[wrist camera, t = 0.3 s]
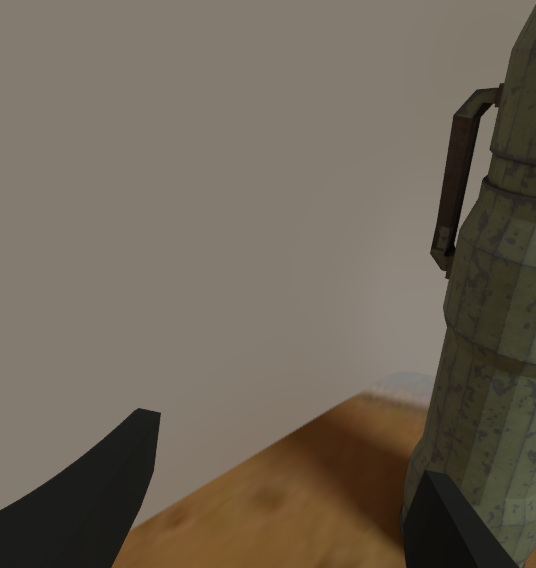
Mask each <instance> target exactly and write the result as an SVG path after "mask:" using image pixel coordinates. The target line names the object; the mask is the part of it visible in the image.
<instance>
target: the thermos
mask: <svg viewBox="0 0 536 568" xmlns="http://www.w3.org/2000/svg"><path fill="white" fill-rule="evenodd" d="M492 104H495V107H499V109H498V114H497V118H496V123H495V127H494V132H493V137H492V141H491V145H490V151H491V152H492V153H493V154H492V159H491V163H490V168H489V172H488V175H487V176H486V177H484V178H483V180H482V185H481V189H480V194H479V198H478V200H477V201H476V203H475V205H474V206H473V208H472V210H471V212H470V213H469V215H468V216H467V218H466V220H465V221H464V223H463V225H462V226H461V228H460V231H459V235H458V240H457V244H456V248H455V246H454V242H455V238H456V233H457V228H458V224H459V219H460V214H461V209H462V205H463V200H464V195H465V190H466V185H467V181H468V176H469V171H470V166H471V161H472V156H473V152H474V147H475V142H476V137H477V133H478V128H479V123H480V118H481V116H482V115H483V114H484V113H485V112H486V111H487V110H488V109H489V108H490V107H491V105H492ZM430 254H431V255H432V257H433V258H434V260H435V261H436V263H437V264H438V266H439V267H440V269H441V270H443V271H447V272H446V277H445V278H446V279H449V282H448V287H447V291H446V296H445V301H444V305H443V309H444V316H445V321H446V324H447V330H446V334H445V339H444V344H443V348H442V352H441V357H440V361H439V366H438V370H437V375H436V379H435V384H434V388H433V393H432V397H431V402H430V406H429V411H428V415H427V420H426V424H425V429H424V433H423V437H422V438H421V440H420V441H419V442H418V444H417V445H416V447H415V449H414V451H413V453H412V455H411V457H410V459H409V464H408V468H407V473H406V478H405V483H404V487H403V505H402V507H401V512H400V529H401V532H402V535H403V523H404V520H405V518H406V515H407V513H408V510H409V508H410V506H411V503H412V501H413V498H414V496H415V493H416V491H417V488H418V486H419V483H420V481H421V478H422V476H423V473H424V471H425V470H430V471H435V472H439V473H444V474H448V475H449V477H450V478H451V479H452V480H453V482H454V483H455V484H456V486H457V487H458V488H459V490H460V491H461V492H462V494H463V495H464V497H465V498H466V499H467V501H468V502H469V503H470V505H471V506H472V507H473V509H474V510H475V511H476V513H477V514H478V515H479V517H480V518H481V519H482V521H483V522H484V523H485V525H486V526H487V527H488V529H489V530H490V531H491V533H492V534H493V535H494V536H495V538H496V539H497V540H498V542H499V543H500V544H501V545H502V547H503V548H504V549H505V550H506V552H507V553H508V554H509V555H510V557H511V558H512V559H513V560H514V562H515V563H516V564H517V565H518V566H519V567H520V568H524V565H525V560H526V559H527V558H528V556H529V555H530V554H531V553H532V551H533V550H534V549H535V546H536V5H535V7H534V9H533V11H532V13H531V14H530V16H529V18H528V20H527V22H526V23H525V26H524V27H523V29H522V31H521V33H520V35H519V37H518V39H517V41H516V43H515V45H514V47H513V49H512V52H511V56H510V60H509V65H508V69H507V74H506V78H505V83H501V84H500V85H499V88H489V89H479V90H476V91H475V92H474V93H473V94H472V95H471V96H470V97H469V99H468V100H467V101H466V102H465V103H464V104H463V105H462V106H461V108H460V109H459V110H458V111H457V112H456V113H455V114H454V116H453V122H452V129H451V135H450V141H449V148H448V154H447V161H446V167H445V173H444V180H443V186H442V194H441V199H440V205H439V212H438V218H437V224H436V229H435V233H434V238H433V242H432V247H431V252H430ZM403 538H404V536H403Z"/></svg>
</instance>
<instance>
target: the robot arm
mask: <svg viewBox="0 0 536 568" xmlns="http://www.w3.org/2000/svg"><path fill="white" fill-rule="evenodd" d="M160 415H161V413H159V412H155V411H150V410H145V409H141V408H138V409H137V410H135V411H134V412H133V413H132V414H130V415H129V416H128V417H127V418H126V419H125V420H124V421H123V422H122V423H121V424H120V425H119V426H117V427H116V428H115V429H114V430H113V431H112V432H111V433H109V434H108V435H107V436H106V437H105V438H104V439H103V440H101V441H100V442H99V443H98V444H96V445H95V446H94V447H93V448H92V449H90V450H89V451H88V452H87V453H86V454H84V455H83V456H82V457H80V458H79V459H78V460H77V461H75V462H74V463H73V464H71V465H70V466H69V467H67V468H65V469H64V470H63V471H62V472H60V473H59V474H57V475H56V476H55V477H53V478H52V479H50V480H49V481H47V482H46V483H44V484H43V485H41V486H40V487H38V488H37V489H35V490H34V491H32V492H30V493H29V494H27V495H26V496H24V497H22V498H21V499H19V500H18V501H16V502H14V503H12V504H11V505H9V506H7V507H5V508H4V509H2V510H0V568H111V567H112V565H113V563H114V561H115V559H116V557H117V555H118V553H119V551H120V549H121V547H122V544H123V542H124V540H125V538H126V536H127V534H128V532H129V530H130V528H131V526H132V524H133V522H134V520H135V518H136V516H137V514H138V512H139V510H140V508H141V505H142V502H143V499H144V497H145V494H146V491H147V488H148V486H149V483H150V480H151V477H152V475H153V472H154V465H155V457H156V448H157V440H158V432H159V424H160ZM403 536H404V550H405V560H406V568H520V567H519V566H518V565H517V564H516V563H515V562H514V560H513V559H512V558H511V557H510V555H509V554H508V553H507V552H506V550H505V549H504V548H503V547H502V545H501V544H500V543H499V542H498V540H497V539H496V538H495V536H494V535H493V534H492V533H491V531H490V530H489V529H488V527H487V526H486V525H485V523H484V522H483V521H482V519H481V518H480V517H479V515H478V514H477V513H476V511H475V510H474V509H473V507H472V506H471V505H470V503H469V502H468V501H467V499H466V498H465V497H464V495H463V494H462V492H461V491H460V490H459V488H458V487H457V486H456V484H455V483H454V482H453V480H452V479H451V478H450V477H449V475H448V474H444V473H439V472H435V471H430V470H425V471H424V473H423V476H422V478H421V481H420V483H419V486H418V488H417V491H416V493H415V496H414V498H413V501H412V503H411V506H410V508H409V510H408V513H407V515H406V518H405V520H404V523H403Z"/></svg>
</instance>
